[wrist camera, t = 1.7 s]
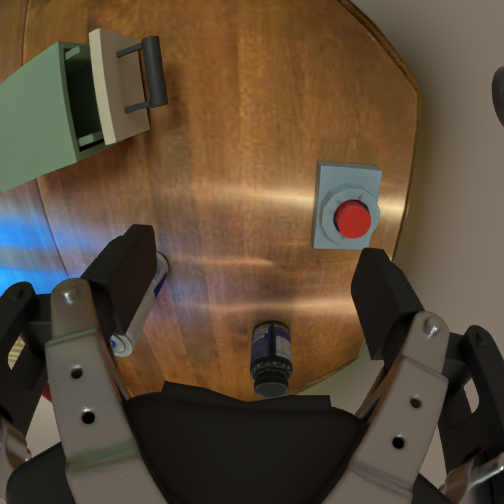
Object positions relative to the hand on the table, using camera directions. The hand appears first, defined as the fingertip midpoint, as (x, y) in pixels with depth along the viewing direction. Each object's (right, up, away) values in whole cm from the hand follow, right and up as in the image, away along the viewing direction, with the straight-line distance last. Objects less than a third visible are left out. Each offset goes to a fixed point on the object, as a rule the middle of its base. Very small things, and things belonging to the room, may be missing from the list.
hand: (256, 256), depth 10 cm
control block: (+11, +6, +21) cm, 24 cm away
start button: (+10, +4, +18) cm, 21 cm away
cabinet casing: (-23, +18, +15) cm, 33 cm away
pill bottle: (+3, -13, +33) cm, 36 cm away
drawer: (-16, +18, +14) cm, 28 cm away
